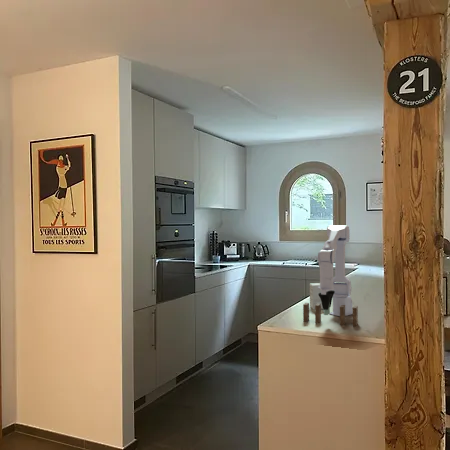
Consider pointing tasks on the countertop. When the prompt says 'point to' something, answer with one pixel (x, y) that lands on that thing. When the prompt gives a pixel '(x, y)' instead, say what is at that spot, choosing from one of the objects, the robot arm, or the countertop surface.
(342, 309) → the domino
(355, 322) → the brown flat rectangular block
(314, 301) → the supplement box
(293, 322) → the countertop surface
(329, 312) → the domino
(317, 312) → the domino
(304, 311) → the domino
